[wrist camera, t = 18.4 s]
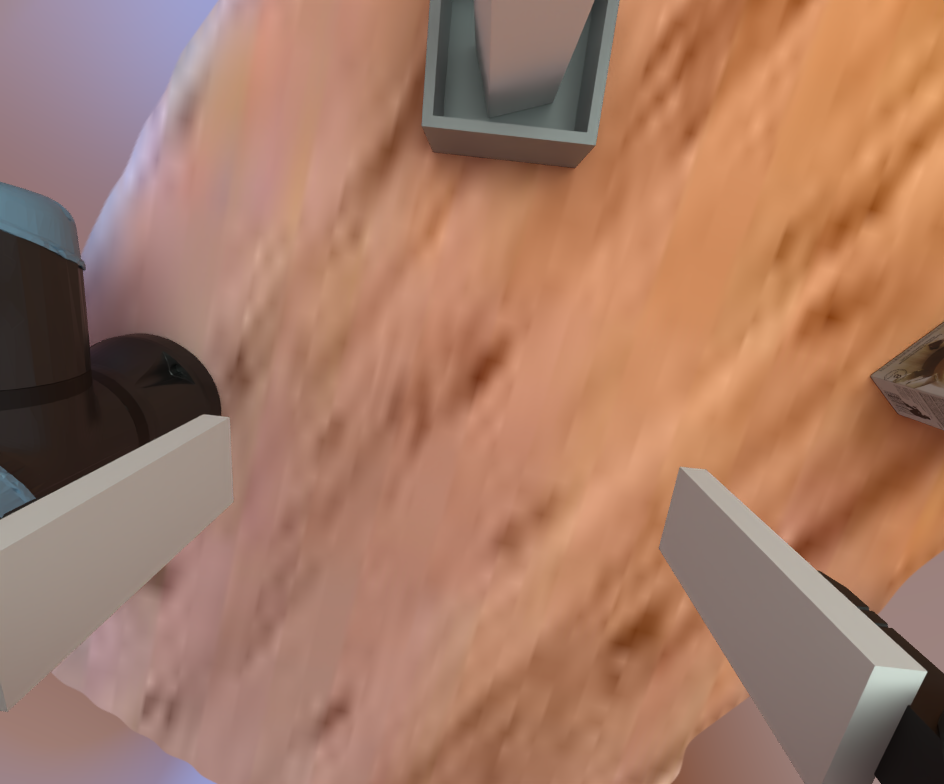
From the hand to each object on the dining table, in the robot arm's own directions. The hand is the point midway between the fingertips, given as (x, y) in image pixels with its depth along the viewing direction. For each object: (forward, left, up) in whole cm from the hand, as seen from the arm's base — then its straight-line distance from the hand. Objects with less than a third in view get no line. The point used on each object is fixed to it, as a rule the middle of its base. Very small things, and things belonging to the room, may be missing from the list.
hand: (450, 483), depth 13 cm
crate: (+1, +23, -35) cm, 42 cm away
